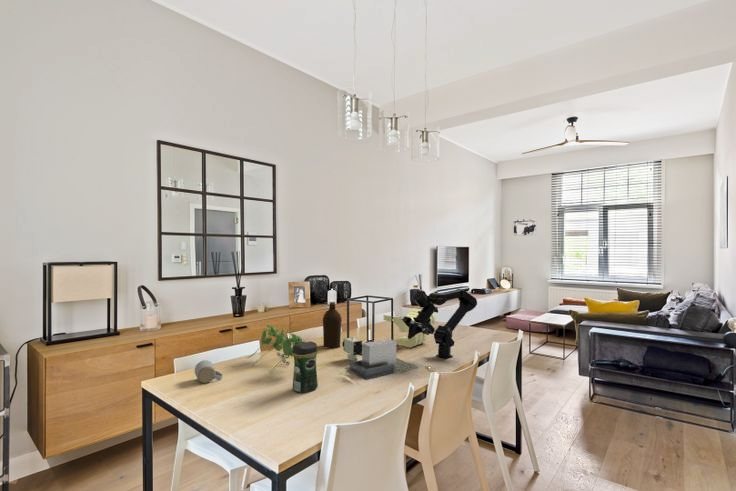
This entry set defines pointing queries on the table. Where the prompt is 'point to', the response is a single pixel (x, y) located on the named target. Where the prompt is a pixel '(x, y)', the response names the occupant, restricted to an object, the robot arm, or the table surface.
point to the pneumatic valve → (352, 347)
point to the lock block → (378, 353)
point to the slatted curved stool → (403, 327)
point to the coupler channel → (379, 369)
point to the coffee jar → (305, 367)
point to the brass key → (429, 368)
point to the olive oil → (332, 327)
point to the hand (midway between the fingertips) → (408, 338)
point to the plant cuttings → (286, 343)
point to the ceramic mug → (206, 372)
